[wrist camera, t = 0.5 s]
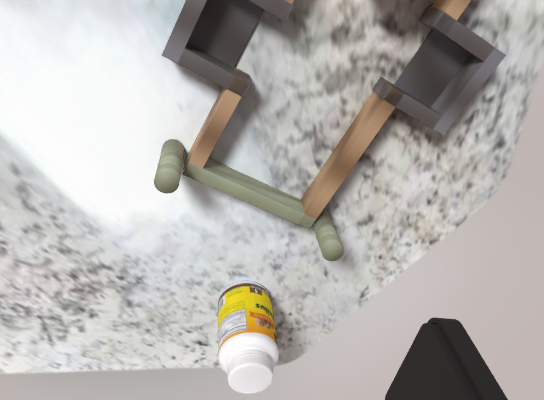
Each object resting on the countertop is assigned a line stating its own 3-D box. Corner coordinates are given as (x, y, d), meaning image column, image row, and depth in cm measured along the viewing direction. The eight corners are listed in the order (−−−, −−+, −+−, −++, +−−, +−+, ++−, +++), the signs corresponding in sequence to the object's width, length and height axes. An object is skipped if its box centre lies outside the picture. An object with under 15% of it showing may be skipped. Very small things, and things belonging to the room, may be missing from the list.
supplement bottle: (278, 305, 49) (292, 387, 40) (232, 324, 50) (235, 408, 41) (257, 270, 46) (267, 349, 37) (208, 290, 47) (207, 372, 38)
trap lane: (305, -268, 26) (326, -317, 21) (560, -47, 34) (622, -43, 29) (124, 138, 38) (110, 171, 32) (346, 236, 45) (363, 275, 40)
